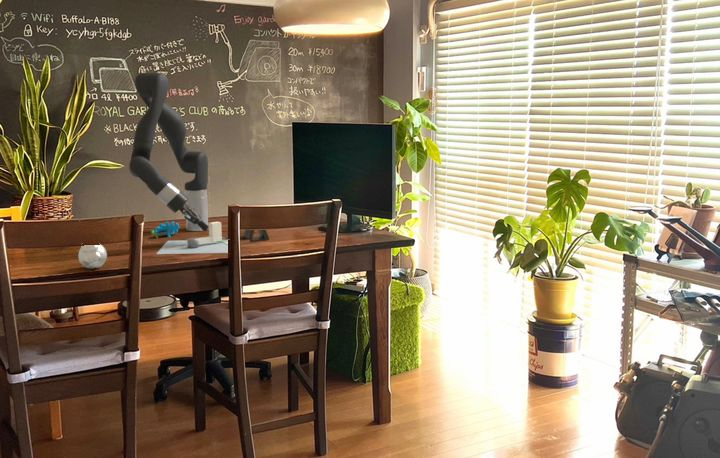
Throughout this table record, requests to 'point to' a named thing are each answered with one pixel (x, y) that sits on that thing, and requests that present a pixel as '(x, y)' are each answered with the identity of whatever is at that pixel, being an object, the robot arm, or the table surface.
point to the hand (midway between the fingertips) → (206, 229)
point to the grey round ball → (92, 256)
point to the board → (182, 248)
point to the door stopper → (263, 236)
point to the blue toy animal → (166, 229)
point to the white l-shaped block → (214, 236)
